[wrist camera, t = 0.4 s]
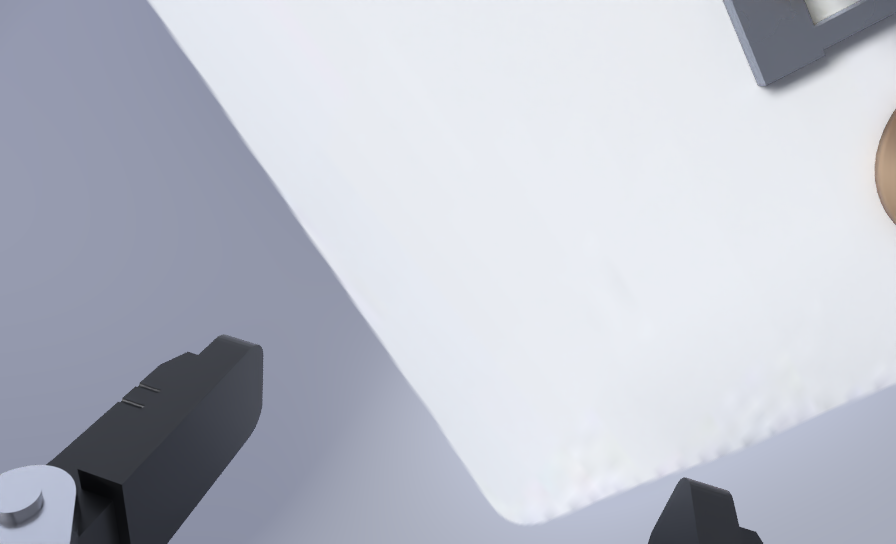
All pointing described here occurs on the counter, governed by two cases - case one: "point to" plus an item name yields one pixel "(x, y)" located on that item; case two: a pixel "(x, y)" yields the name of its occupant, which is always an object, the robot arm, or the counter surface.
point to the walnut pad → (887, 168)
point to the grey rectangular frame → (795, 32)
